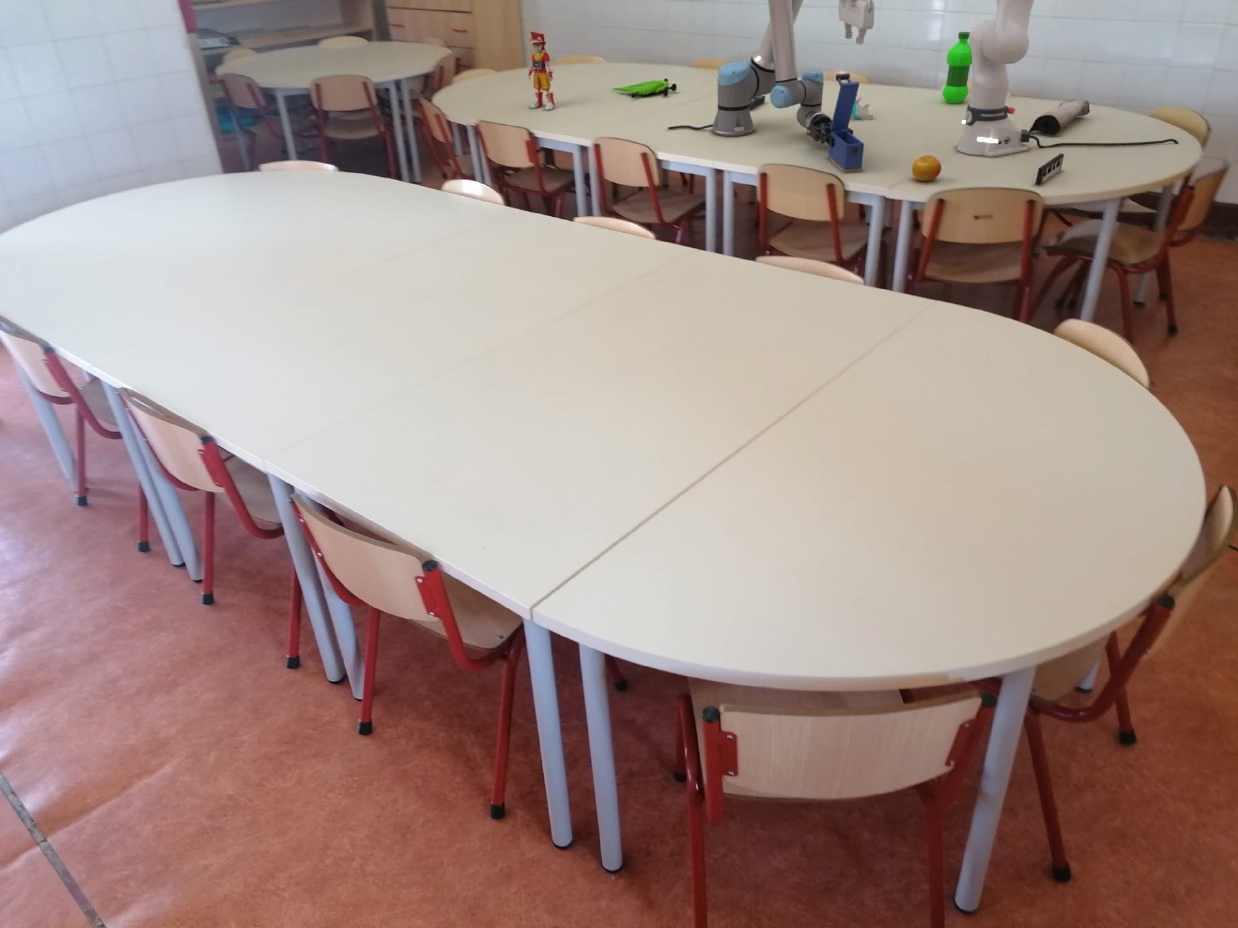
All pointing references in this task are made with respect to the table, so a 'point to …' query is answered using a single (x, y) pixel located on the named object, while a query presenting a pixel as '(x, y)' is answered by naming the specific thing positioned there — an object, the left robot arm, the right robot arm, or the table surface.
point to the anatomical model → (860, 110)
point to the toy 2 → (648, 88)
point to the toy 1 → (541, 71)
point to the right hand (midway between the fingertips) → (853, 41)
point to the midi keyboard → (1049, 169)
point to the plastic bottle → (958, 70)
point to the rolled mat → (1060, 117)
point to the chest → (846, 151)
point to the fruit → (926, 168)
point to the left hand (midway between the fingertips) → (842, 142)
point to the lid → (844, 102)
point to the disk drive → (756, 101)
